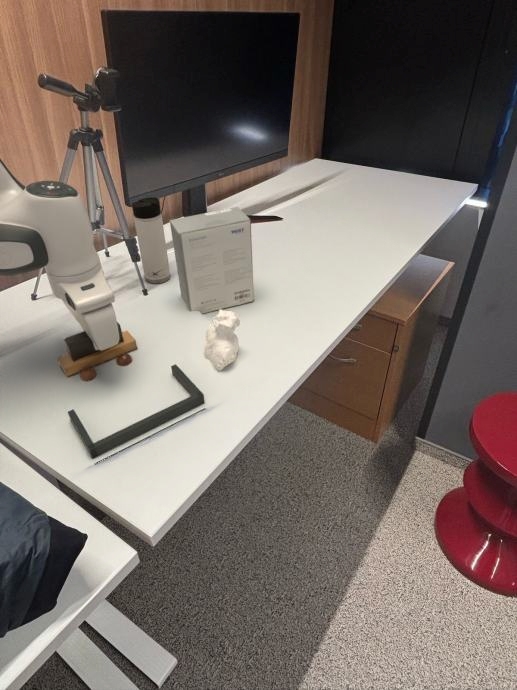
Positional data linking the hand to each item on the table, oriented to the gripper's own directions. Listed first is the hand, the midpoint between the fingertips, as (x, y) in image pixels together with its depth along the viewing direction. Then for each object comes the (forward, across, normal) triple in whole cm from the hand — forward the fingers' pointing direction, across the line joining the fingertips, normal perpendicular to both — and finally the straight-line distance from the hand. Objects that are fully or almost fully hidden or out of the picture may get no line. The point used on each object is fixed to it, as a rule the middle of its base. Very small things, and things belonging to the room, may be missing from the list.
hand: (95, 342), depth 91 cm
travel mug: (+5, -23, +24) cm, 34 cm away
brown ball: (+4, +4, +3) cm, 6 cm away
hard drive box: (+5, -5, +30) cm, 31 cm away
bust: (+5, +13, +20) cm, 24 cm away
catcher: (+5, +18, 0) cm, 19 cm away
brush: (+5, 0, 0) cm, 5 cm away
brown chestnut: (+4, +4, -4) cm, 6 cm away
